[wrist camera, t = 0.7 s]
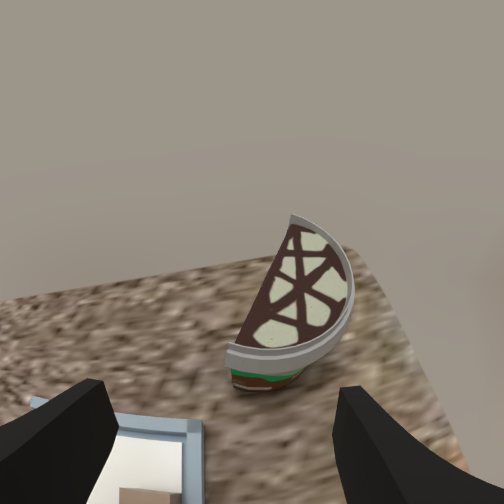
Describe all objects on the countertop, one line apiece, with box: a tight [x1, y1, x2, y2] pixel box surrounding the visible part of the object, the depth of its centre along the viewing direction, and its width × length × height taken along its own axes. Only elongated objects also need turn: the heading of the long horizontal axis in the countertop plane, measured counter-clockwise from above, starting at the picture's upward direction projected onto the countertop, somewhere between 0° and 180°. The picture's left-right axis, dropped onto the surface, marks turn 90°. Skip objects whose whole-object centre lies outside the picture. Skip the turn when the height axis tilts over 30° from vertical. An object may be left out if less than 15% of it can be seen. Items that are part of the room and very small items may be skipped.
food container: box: [225, 214, 355, 392], centre depth 22 cm, size 12×6×10 cm, turn 159°
